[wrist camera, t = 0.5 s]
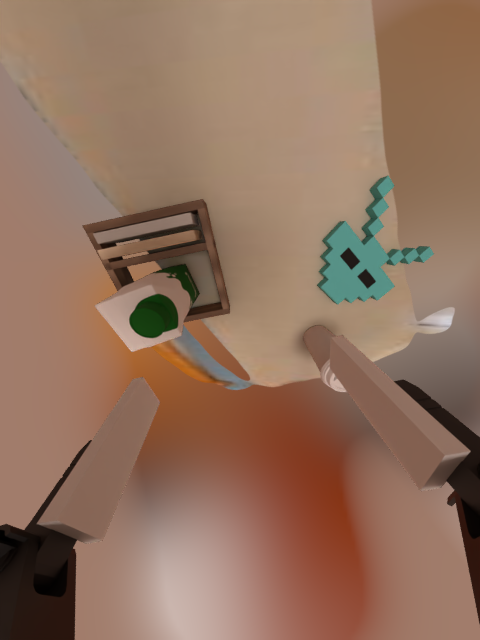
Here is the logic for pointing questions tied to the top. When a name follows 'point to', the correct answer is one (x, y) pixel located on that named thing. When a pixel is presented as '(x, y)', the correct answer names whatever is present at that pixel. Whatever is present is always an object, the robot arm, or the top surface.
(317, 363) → the coffee cup
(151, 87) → the top surface
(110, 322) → the soya milk
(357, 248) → the alien figure
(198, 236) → the birch offcut
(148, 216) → the offcut rack
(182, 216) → the grey offcut
